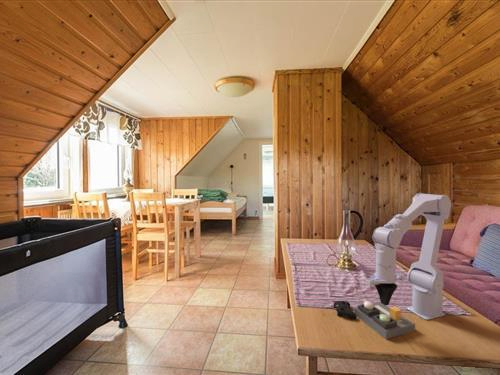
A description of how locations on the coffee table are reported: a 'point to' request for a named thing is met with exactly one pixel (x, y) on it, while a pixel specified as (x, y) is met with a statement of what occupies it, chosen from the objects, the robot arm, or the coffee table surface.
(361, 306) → the control panel
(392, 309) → the slider knob
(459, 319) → the coffee table surface
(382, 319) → the green button
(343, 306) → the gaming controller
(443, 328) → the coffee table surface
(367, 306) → the white button
